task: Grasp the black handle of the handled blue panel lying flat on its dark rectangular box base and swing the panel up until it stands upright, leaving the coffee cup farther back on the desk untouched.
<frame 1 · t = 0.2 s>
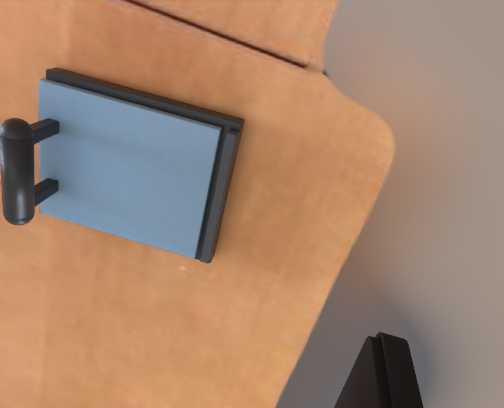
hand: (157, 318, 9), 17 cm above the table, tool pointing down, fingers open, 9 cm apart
handled blue panel: (107, 186, 24), point 3 cm above the table, hinge at 0.0°
dark rectangular box base: (140, 168, 27), on the table
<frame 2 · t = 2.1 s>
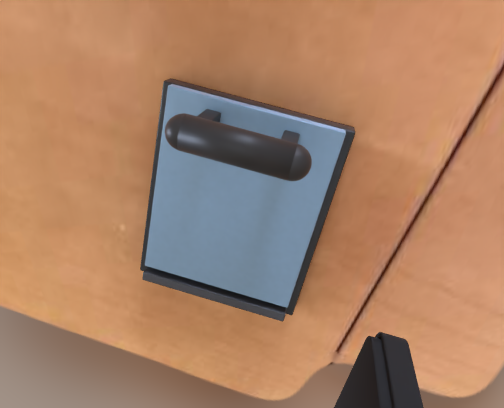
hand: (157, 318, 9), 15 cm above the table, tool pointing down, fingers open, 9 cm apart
handled blue panel: (225, 221, 21), point 3 cm above the table, hinge at 0.0°
dark rectangular box base: (237, 202, 24), on the table
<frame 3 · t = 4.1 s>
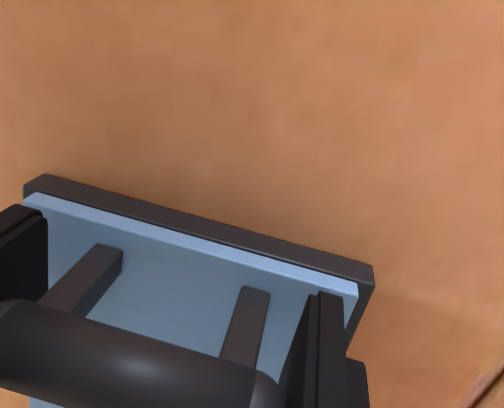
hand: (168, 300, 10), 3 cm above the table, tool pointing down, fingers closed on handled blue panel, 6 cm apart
dark rectangular box base: (176, 362, 15), on the table
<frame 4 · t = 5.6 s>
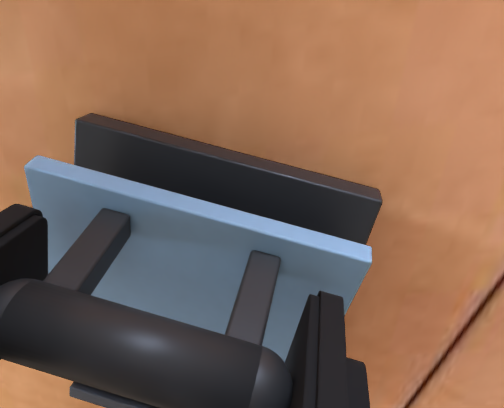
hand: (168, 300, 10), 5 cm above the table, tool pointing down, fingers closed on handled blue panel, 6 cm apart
handled blue panel: (159, 387, 12), point 5 cm above the table, hinge at 13.1°, touching gripper
dark rectangular box base: (203, 290, 16), on the table
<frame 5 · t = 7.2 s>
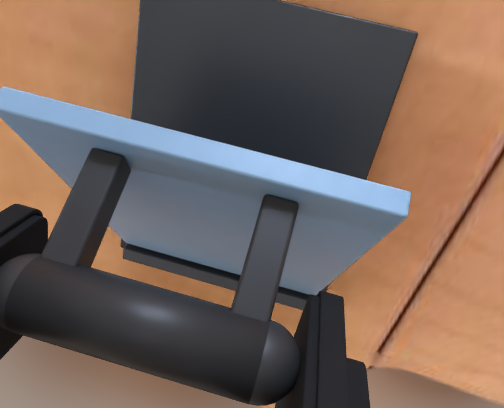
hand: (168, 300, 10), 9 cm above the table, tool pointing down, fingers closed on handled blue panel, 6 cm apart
handled blue panel: (192, 287, 13), point 7 cm above the table, hinge at 44.1°, touching gripper
dark rectangular box base: (247, 151, 18), on the table
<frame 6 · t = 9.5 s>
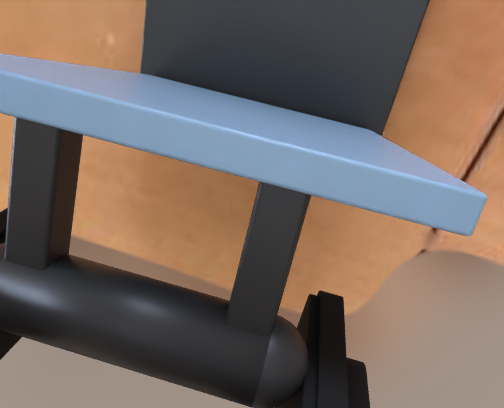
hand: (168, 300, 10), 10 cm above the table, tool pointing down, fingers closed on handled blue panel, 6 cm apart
handled blue panel: (211, 188, 11), point 7 cm above the table, hinge at 80.1°, touching gripper
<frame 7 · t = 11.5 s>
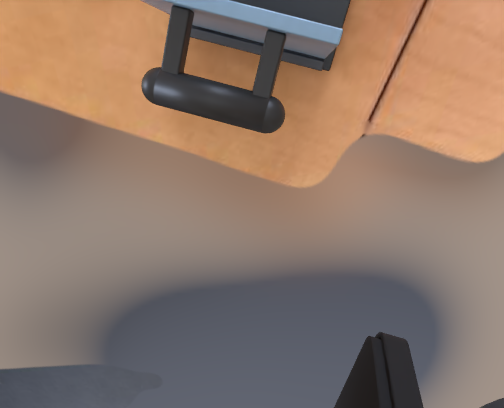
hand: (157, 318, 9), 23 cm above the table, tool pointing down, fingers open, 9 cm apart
handled blue panel: (237, 67, 22), point 7 cm above the table, hinge at 80.9°
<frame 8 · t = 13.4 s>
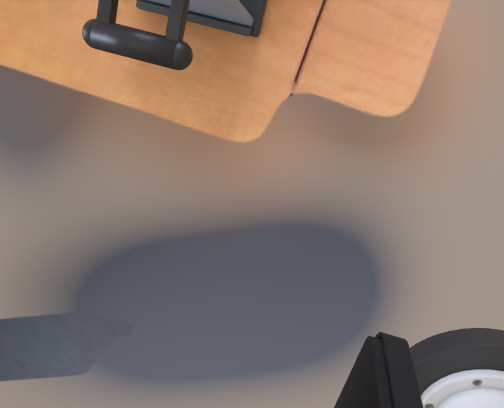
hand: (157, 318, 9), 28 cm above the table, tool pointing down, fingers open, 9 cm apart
handled blue panel: (168, 26, 27), point 7 cm above the table, hinge at 80.9°
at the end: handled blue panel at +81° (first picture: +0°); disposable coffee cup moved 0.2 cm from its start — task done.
